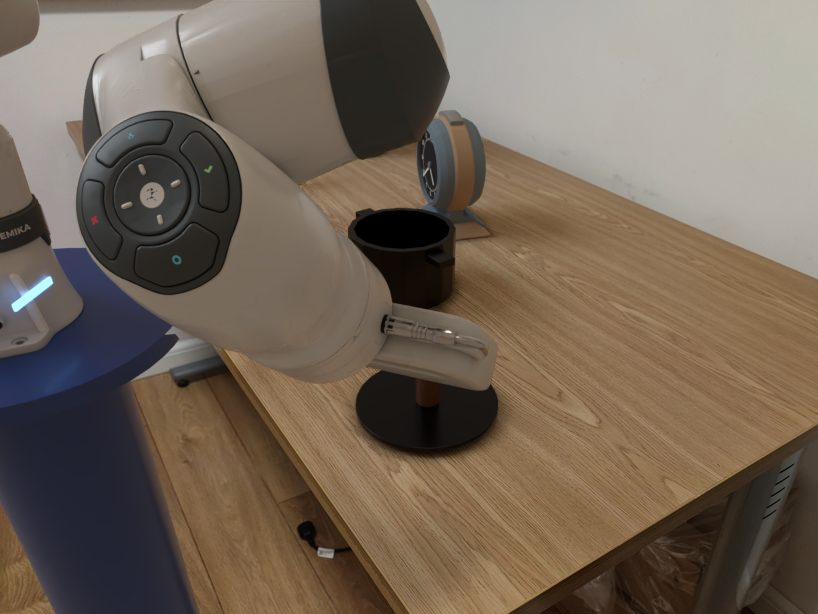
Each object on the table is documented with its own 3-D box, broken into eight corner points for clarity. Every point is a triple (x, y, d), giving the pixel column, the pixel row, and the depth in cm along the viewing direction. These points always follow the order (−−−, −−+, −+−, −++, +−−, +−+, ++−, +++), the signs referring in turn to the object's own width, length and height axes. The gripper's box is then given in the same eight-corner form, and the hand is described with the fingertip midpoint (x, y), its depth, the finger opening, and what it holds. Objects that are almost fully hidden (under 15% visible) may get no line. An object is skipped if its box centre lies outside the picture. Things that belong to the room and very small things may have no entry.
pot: (402, 332, 82) (400, 269, 77) (323, 273, 94) (318, 215, 89) (487, 300, 89) (490, 241, 84) (404, 249, 101) (403, 194, 96)
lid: (410, 479, 61) (409, 414, 57) (329, 399, 71) (323, 338, 66) (527, 417, 69) (534, 356, 65) (440, 353, 78) (441, 295, 74)
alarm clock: (407, 210, 113) (406, 101, 104) (462, 204, 116) (465, 98, 107) (433, 245, 102) (434, 127, 93) (493, 238, 105) (500, 123, 96)
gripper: (491, 289, 39) (518, 343, 53) (189, 234, 44) (283, 296, 57) (466, 394, 38) (499, 422, 52) (158, 326, 43) (262, 368, 56)
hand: (384, 356), depth 54 cm, fingers open, 8 cm apart
